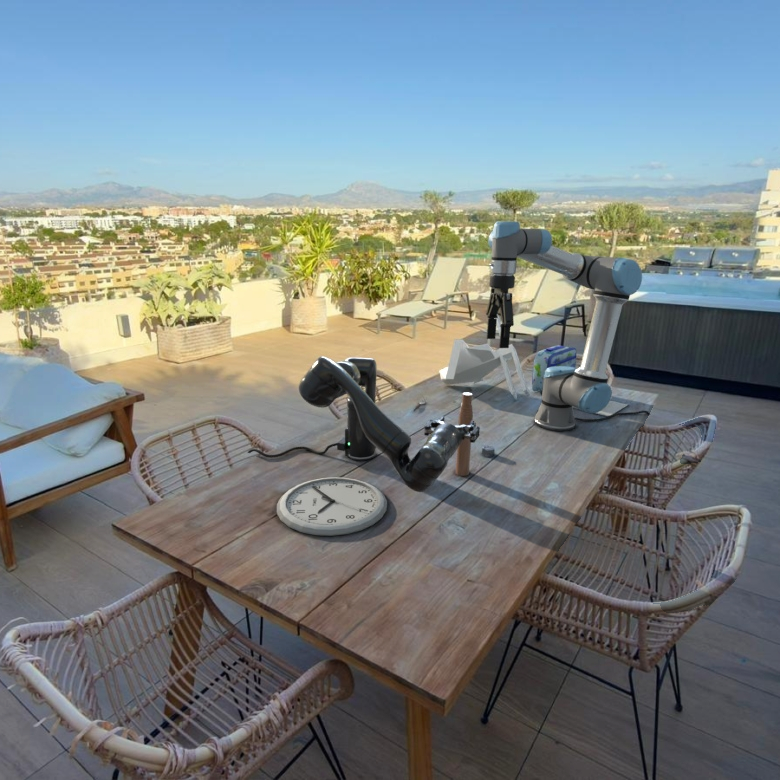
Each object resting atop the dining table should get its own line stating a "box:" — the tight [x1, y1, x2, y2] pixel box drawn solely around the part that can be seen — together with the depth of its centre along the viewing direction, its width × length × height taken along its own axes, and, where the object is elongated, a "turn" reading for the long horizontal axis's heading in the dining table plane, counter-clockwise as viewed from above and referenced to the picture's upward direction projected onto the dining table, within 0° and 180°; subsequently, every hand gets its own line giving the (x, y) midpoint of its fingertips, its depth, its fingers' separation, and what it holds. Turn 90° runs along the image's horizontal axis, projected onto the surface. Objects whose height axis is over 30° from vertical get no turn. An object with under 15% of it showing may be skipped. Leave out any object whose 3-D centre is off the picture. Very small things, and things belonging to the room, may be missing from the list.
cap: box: [481, 445, 496, 458], centre depth 176 cm, size 4×4×2 cm
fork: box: [413, 396, 428, 412], centre depth 222 cm, size 3×16×2 cm, turn 160°
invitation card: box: [573, 400, 629, 417], centre depth 226 cm, size 21×1×15 cm
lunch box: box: [531, 345, 577, 394], centre depth 245 cm, size 26×11×21 cm, turn 134°
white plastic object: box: [438, 313, 531, 400], centre depth 245 cm, size 37×45×31 cm
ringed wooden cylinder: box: [455, 392, 474, 477], centre depth 159 cm, size 4×4×26 cm
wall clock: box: [276, 476, 388, 537], centre depth 142 cm, size 30×2×30 cm
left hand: (458, 421), depth 147 cm, fingers open, 8 cm apart
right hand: (497, 343), depth 165 cm, fingers open, 13 cm apart
